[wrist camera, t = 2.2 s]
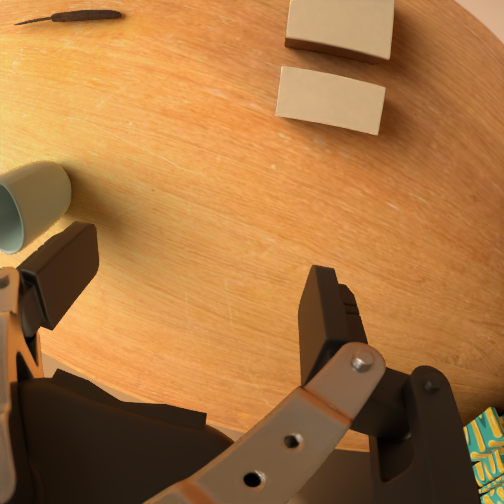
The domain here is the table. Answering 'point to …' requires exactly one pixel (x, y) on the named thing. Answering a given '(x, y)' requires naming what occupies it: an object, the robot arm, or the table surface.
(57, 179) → the cup
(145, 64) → the table surface
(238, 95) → the table surface
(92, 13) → the knife
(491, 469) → the party decoration
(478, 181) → the table surface
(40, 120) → the table surface
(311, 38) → the cake
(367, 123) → the slice
